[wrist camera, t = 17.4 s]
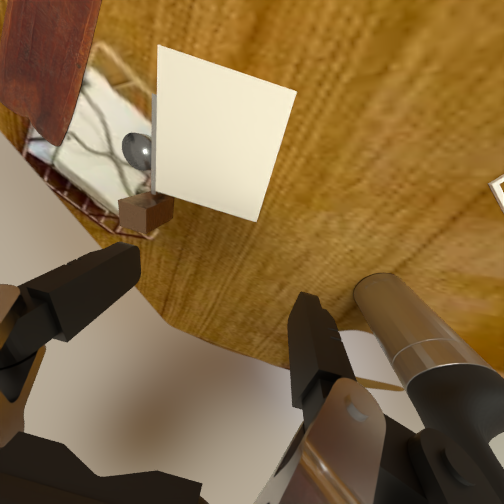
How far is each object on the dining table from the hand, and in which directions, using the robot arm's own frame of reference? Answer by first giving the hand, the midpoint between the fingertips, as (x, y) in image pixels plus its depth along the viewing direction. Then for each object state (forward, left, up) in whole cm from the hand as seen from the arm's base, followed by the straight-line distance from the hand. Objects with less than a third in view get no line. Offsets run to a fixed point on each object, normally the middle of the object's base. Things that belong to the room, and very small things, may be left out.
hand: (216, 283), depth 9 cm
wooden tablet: (+32, +12, -25) cm, 42 cm away
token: (+15, +12, -25) cm, 31 cm away
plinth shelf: (+8, 0, -24) cm, 26 cm away
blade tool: (+12, +11, -24) cm, 29 cm away
